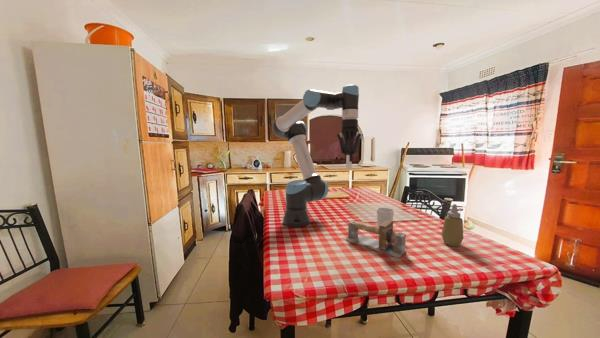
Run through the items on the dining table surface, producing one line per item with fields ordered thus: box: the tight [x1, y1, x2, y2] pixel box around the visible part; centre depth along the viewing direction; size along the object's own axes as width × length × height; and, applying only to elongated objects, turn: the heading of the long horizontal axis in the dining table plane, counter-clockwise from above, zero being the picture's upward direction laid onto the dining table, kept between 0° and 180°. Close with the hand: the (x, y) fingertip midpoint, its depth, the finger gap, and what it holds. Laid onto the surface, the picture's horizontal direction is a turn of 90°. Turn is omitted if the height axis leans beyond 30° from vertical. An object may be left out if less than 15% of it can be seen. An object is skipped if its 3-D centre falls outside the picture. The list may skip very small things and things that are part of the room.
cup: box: [376, 206, 395, 227], centre depth 111 cm, size 8×8×12 cm
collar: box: [378, 219, 394, 250], centre depth 95 cm, size 2×8×10 cm, turn 138°
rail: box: [345, 220, 407, 259], centre depth 98 cm, size 24×8×8 cm, turn 48°
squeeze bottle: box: [441, 203, 464, 247], centre depth 98 cm, size 8×8×18 cm
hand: (348, 168), depth 110 cm, fingers closed
